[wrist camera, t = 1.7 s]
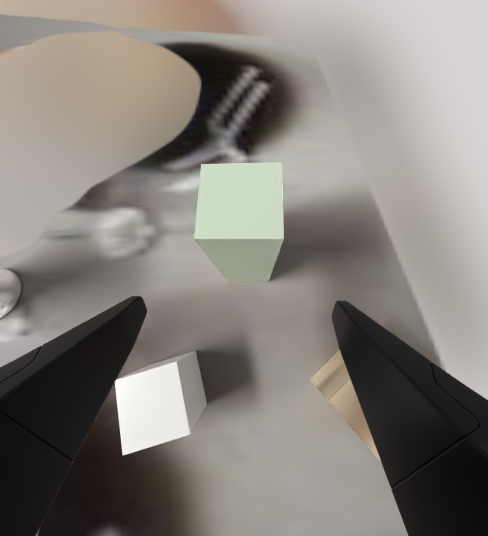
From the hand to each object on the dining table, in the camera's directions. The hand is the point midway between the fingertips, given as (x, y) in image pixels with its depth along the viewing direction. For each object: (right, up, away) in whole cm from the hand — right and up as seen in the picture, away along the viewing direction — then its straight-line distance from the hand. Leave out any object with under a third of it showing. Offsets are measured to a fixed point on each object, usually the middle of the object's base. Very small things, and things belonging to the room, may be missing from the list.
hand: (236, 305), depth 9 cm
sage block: (+1, +2, +13) cm, 13 cm away
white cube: (-6, -10, +10) cm, 16 cm away
